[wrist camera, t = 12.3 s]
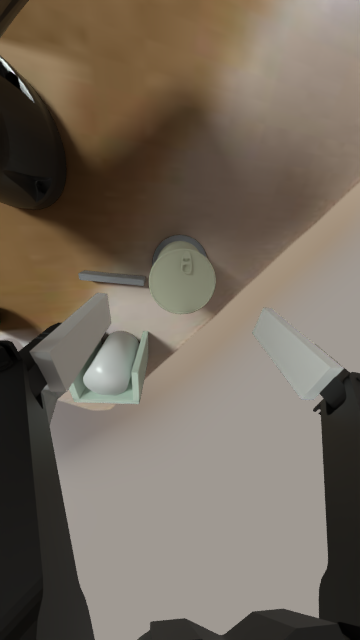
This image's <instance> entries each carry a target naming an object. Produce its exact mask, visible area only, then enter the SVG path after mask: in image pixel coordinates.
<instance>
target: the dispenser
mask: <svg viewBox="0 0 360 640" xmlns="http://www.w3.org/2000/svg"><path fill="white" fill-rule="evenodd" d="M78 274H79V278H80V280H88V281H99V282H109V283H119V284H130V285H140V286H144V284H145V283H146V277H145V276H135V275H125V274H115V273H105V272H95V271H86V270H85V271H82V272H80V273H78ZM147 363H148V332H147V331H143V335H142V338H141V341H140V345H139V342H138V340H137V338H136V337H135V336H133V335H132V334H130V333H128V332H124V331H116V332H113V333H111V334H110V335H109V336H108V337H107V339H106V340H105V342H104V344H103V345H102V341H101V340H100V341H99V343H98V344H97V346H96V348H95V349H94V351H93V352H92V354H91V355H90V357H89V358H88V360H87V361H86V363H85V365H84V366H83V368H82V369H81V371H80V372H79V374H78V375H77V377H76V378H75V380H74V382H73V383H72V385H71V386H70V388H69V390H70V392H71V395H72V397H73V399H74V402H89V403H122V404H123V403H124V404H139V403H140V398H141V393H142V388H143V383H144V378H145V373H146V368H147Z"/></svg>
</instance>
